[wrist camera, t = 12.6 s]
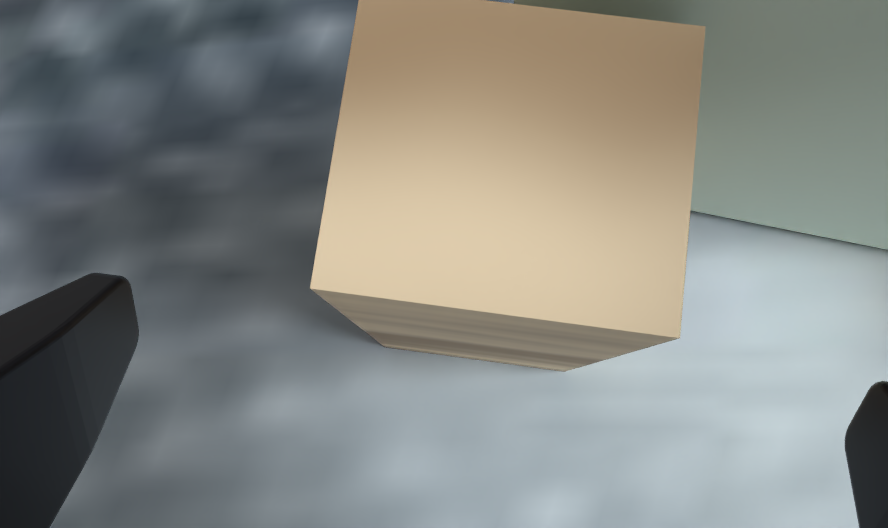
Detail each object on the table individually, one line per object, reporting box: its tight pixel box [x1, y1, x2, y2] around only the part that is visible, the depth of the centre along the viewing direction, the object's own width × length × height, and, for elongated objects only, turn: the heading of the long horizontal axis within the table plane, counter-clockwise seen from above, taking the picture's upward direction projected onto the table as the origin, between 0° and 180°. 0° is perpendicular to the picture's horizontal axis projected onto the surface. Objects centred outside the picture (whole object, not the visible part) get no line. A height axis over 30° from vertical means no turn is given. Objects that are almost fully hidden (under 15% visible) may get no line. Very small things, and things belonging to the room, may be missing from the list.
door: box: [514, 0, 888, 250], centre depth 16 cm, size 12×3×12 cm, turn 78°
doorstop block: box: [310, 0, 706, 372], centre depth 16 cm, size 4×5×11 cm
